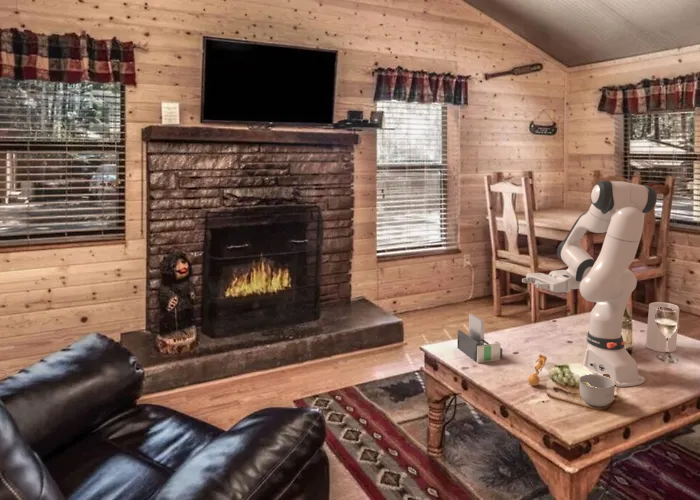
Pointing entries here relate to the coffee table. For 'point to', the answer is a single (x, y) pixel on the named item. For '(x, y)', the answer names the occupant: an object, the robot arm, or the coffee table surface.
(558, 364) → the coffee table surface
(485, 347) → the gauge housing
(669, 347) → the cup
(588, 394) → the teacup
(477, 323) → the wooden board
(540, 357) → the figurine
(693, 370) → the coffee table surface
